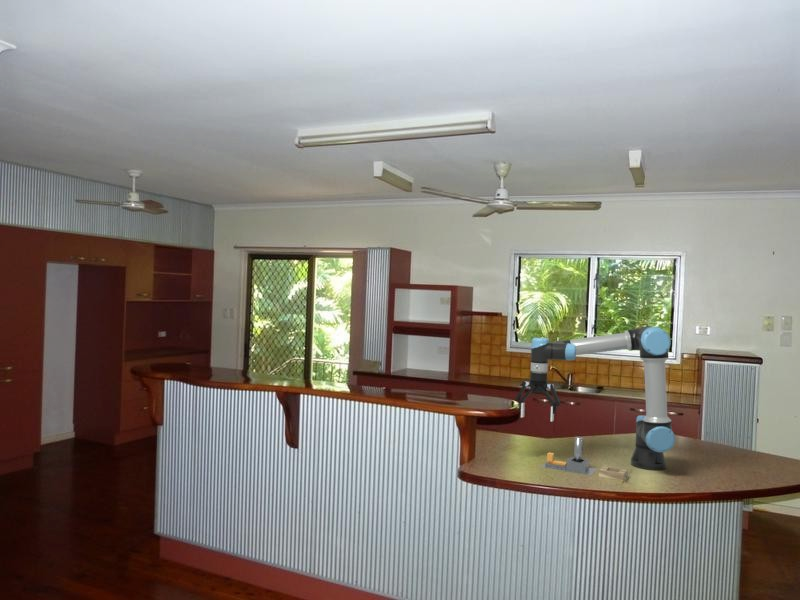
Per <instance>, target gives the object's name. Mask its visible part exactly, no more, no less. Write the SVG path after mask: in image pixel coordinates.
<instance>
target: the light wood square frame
mask: <svg viewBox="0 0 800 600" xmlns="http://www.w3.org/2000/svg"><path fill="white" fill-rule="evenodd" d="M628 474H629V469H628V468H623V467H617V466H612V465H611V466H610V465H602V467H600V469H598V477H601V478H607V479H613V480H620V481H622V482H621V483H622V484H625V482H626V480H627V479H628Z"/></svg>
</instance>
